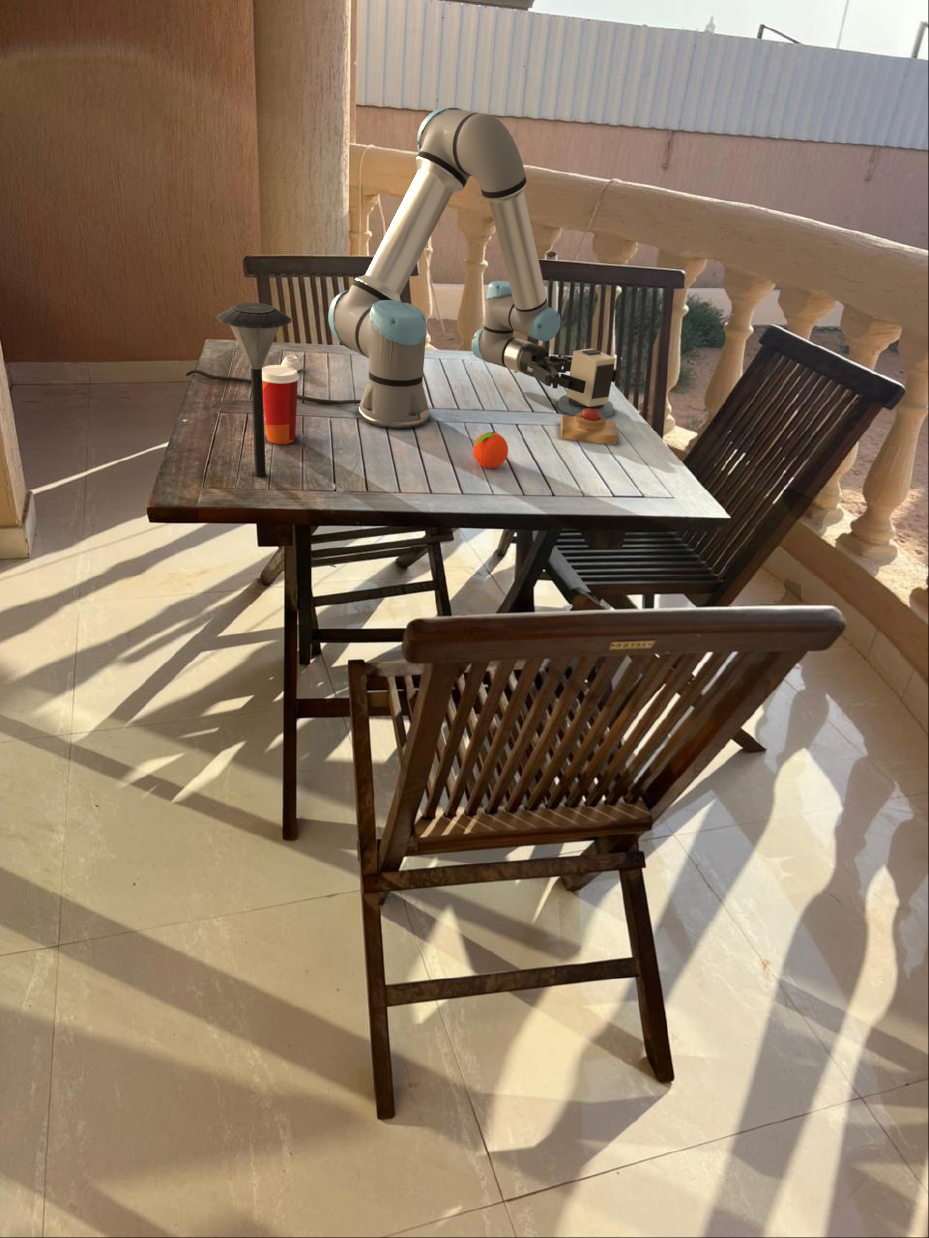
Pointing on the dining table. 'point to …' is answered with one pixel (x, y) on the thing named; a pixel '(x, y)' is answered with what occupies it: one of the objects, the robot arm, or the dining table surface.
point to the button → (591, 414)
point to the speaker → (591, 377)
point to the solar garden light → (255, 357)
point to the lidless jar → (292, 362)
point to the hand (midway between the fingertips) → (600, 381)
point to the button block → (588, 429)
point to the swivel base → (574, 409)
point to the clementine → (490, 450)
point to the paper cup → (280, 402)
